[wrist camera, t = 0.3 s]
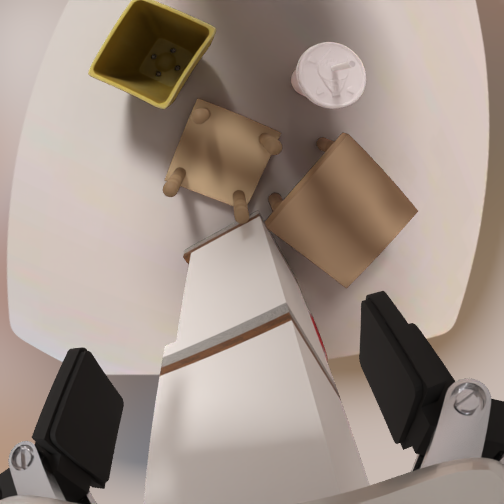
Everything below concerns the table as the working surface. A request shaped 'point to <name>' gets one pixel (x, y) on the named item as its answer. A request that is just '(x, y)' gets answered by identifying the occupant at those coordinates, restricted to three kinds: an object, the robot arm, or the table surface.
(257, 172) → the upturned stool
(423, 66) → the table surface
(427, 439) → the robot arm
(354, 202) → the stool
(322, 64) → the smoothie
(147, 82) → the flower pot
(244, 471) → the display case
